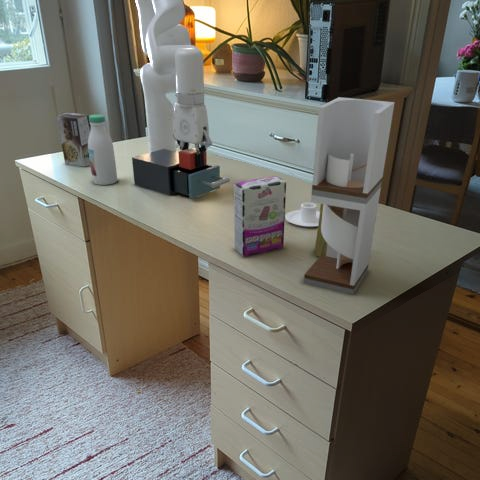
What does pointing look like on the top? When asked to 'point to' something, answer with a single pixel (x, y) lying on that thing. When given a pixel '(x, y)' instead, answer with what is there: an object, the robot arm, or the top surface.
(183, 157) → the package
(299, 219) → the candle holder
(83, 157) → the printed cardboard box
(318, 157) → the tall two-tier shelf
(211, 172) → the drawer
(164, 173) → the cabinet
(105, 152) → the milk bottle
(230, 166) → the top surface
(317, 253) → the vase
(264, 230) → the candy bar box
